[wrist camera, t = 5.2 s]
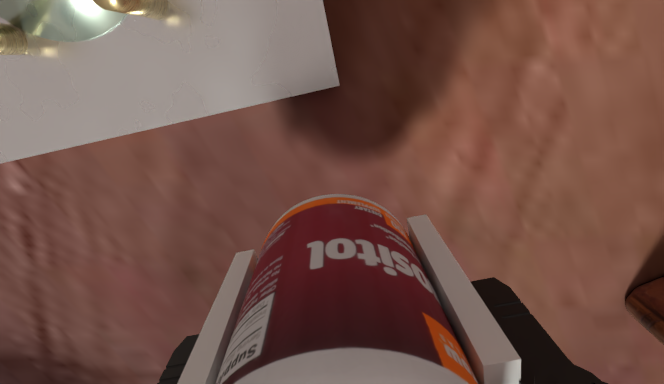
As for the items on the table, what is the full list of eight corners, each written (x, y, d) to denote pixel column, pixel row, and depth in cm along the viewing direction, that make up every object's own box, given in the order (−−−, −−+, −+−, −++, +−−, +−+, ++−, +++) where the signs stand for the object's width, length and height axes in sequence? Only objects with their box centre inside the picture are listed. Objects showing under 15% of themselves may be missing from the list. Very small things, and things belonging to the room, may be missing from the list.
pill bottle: (439, 231, 13) (821, 799, 3) (359, 331, 15) (431, 880, 5) (306, 159, 12) (210, 726, 2) (237, 278, 14) (4, 874, 4)
